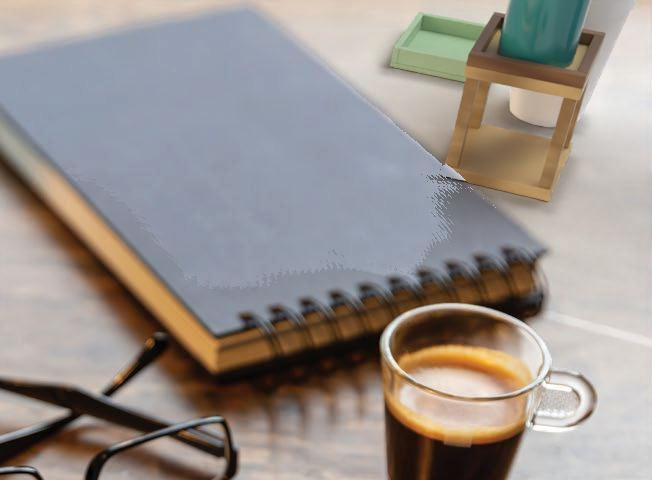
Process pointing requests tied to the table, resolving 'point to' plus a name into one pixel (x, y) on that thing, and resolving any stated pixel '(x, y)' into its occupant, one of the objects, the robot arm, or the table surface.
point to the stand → (512, 146)
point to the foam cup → (604, 16)
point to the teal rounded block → (543, 30)
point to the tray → (436, 46)
